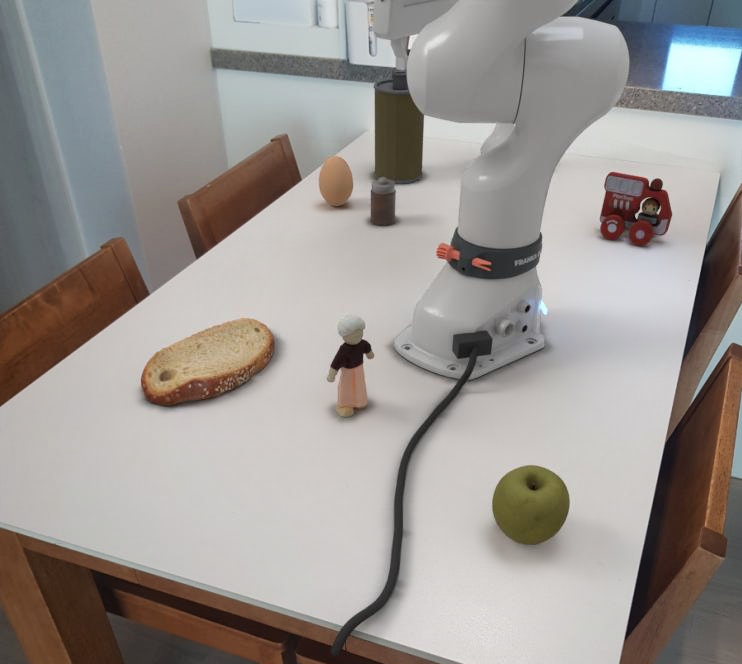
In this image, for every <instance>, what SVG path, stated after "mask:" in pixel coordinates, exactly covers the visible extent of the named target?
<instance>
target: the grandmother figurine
mask: <svg viewBox="0 0 742 664" xmlns="http://www.w3.org/2000/svg"><path fill="white" fill-rule="evenodd" d="M336 326H337V330H338V331H337V333H338V335H339V336H340V337H341V339H342V341H343V343H342V344H341V345H340V346H339V348H338V350H337V352H336V353H335V355H334V357H333V359H332V361H331V363H330V366H329V370H328V374H327V376H326V381H327V382H328V383H334V382H335V381H336V377H337V375H338V373H339V371H340V375H339V379H338V384H337V401H336V403H337V405H336V406H335V411H336V412H337V414H338V415H339V416H340V417H341V418H350V417H352V416H354V414H355V410H354V408H355V409H357V410H361V409H364V408H366V407H367V406H368V392H367V384H366V383H367V382H366V379H365V378H366V376H365V371H364V355H365V357H366V359H367V360H373V359H374V358H375V353H374V351H373V349H372V344H371V342H369V341H368V340H366V339H364V330H365V329H366V322H365V320H364V319H363V318H362V317H360V316H358V315H355V314H354V315H353V314H347V315H345V316H343V318H341V319H339V321H338V324H337V325H336Z"/></svg>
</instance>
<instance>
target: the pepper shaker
mask: <svg viewBox="0 0 742 664" xmlns="http://www.w3.org/2000/svg"><path fill="white" fill-rule="evenodd" d="M396 191H397V190H396V184H395V182H394V181H392V180H389V179H387V178H386V177H381V178H379V179H375V180H373V181H372V182H371V189H370V223H371V224H373V225H375V226H381V227H384V226H385V227H386V226H391V225H393V224H394V223H395V222H396V201H397V200H396V195H397V194H396V193H397V192H396Z"/></svg>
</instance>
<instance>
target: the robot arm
mask: <svg viewBox="0 0 742 664" xmlns="http://www.w3.org/2000/svg"><path fill="white" fill-rule="evenodd" d="M578 1H579V0H373V10H372V31H373V34H374V36H375V37H376V38H378V39H382V40H387V41H390V46H391V49H392V52H393V54H394V56H395V68H397V69H398V70H405V69H407V83H408V88H409V91H410V94H411V97H412V99H413V101H414V103H415V105H416V106H417V108H418V109H419V110H420V111H421V113H422V114H423V115H424V116H427V117H429V118H434V119H439V120H442V121H448V122H451V123H457V124H496V123H512V124H514V129H513V131H512V132H511V134H510V135H509V136H508V137H507V139H506V140H505V141H504V142H502V143H501V144H500V145H498V146H496V147H494V148H493V149H490V150H488V151H486V152H484V153H482V154H481V153H480V154H479V155H478V156H476V157H475V158H474V159H472V161H471V162H470V163H469V164H468V165H467V166H466V168H465V170H464V172H463V174H462V177H461V180H460V191H459V192H460V193H459V206H458V218H457V221H458V222H457V226H456V228H455V229H454V232H453V234H452V237H451V240H450V245H449V244H447V243H445V242H441V243H439V244H438V246H437V248H436V251H435V256H436V257H437V258H438V259H440V260H445V261H446V263H445V264H444V266H443V267H442V268H441V270H440V271H439V273H438V274H437V275H436V277H435V278H434V279H433V281H432V282H431V283H430V285H429V286H428V288H427V289H426V290H425V292H424V293H423V295H422V296H421V297H420V299H419V300H418V302H417V303H416V305H415V306H414V311H413V316H412V322H411V324H410V325H409V326H408V327H406V329H405V330H404V331H402V332H401V333H400V334H399V335H398V336H396V338H395V339H394V343H393V347H394V349H395V351H396V352H397V353H398V354H399V355H400V356H401V357H403V358H404V359H406V360H407V361H408V362H410V363H412V364H414V365H416V366H418V367H420V368H422V369H424V370H427V371H429V372H432V373H435V374H437V375H440V376H444V377H446V378H447V377H448V378H451V379H456V380H457V379H458V381H457V382H456V383H455V385H454V386H453V387H452V389H451V390H450V391H449V393H447V395H446V396H445V397H444V398H443V400H442V401H440V403H439V404H438V405H437V406H436V407H435V408H434V409H433V410H432V412H430V414H429V415H428V416H427V418H425V420H424V421H423V423H422V424H421V425H420V426H419V427H418V428H417V430H416V431H415V432H414V433H413V435H412V437H411V438H410V440H408V441H409V442H408V443H407V445H406V447H405V449H404V452H403V454H402V457H401V460H400V462H399V467H398V471H397V477H396V485H395V490H394V499H393V501H394V502H393V536H392V545H391V553H390V554H391V555H390V565H389V571H388V577H387V580H386V582H385V584H384V587H383V589H382V591H381V593H380V594H379V596H378V597H377V598H376V599H375V600H374V601H373V602H371V603H370V604H369V605H368V606H366V607H365V608H363V609H362V610H360V611H359V612H357V613H356V614H354V615H353V616H352V617H351V618H350V619H348V620H347V621H346V622H345V623H344V625H342V627H341V628H340V630H339V631H338V633H337V634H336V636H335V638H334V641H333V642H332V645H331V649H330V655H332V656H338V655H340V654H341V652H342V651H343V648H344V647H345V644H346V641H347V640H348V638H349V637H350V636H351V634H352V633H353V632H354V630H356V628H358V627H359V626H360V625H361V624H362V623H364V622H366V621H367V620H369V619H370V618H371V617H373V616H375V615H376V614H377V613H379V612H380V611H381V610H382V609H383V608H384V606H385V605H386V604H387V603H388V601H389V600H390V599H391V596H392V594H393V592H394V590H395V587H396V585H397V582H398V578H399V574H400V568H401V557H402V545H403V544H402V543H403V534H404V493H405V486H406V478H407V472H408V467H409V463H410V460H411V457H412V455H413V453H414V450H415V449H416V447H417V444H418V443H419V442H420V440H421V439H422V437H423V436H424V435H425V434H426V432H427V431H428V430H429V429H430V428H431V426H433V424H434V423H435V422H436V420H437V419H438V418H439V417H440V415H441V414H442V413H443V412H444V410H445V409H446V408H447V407H448V406H449V405H450V404H451V402H453V400H454V399H455V398H456V397H457V395H458V394H459V393H460V391H461V390H462V389H463V387H464V386H465V385H466V383H467V382H468V381H471V380H475V379H477V378H479V377H482V376H483V375H486V374H489V373H490V372H493V371H495V370H497V369H500V368H501V367H504V366H506V365H509V364H511V363H513V362H515V361H517V360H520V359H521V358H524V357H527V356H528V355H531V354H533V353H534V352H537V351H539V350H541V349H543V348H544V347H545V341H546V338H545V337H544V335H543V334H542V333H541V331H540V326H541V314H542V313H543V315H547V314H548V308H547V307H546V305H545V303H544V302H543V300H542V298H543V287H542V284H541V281H540V278H539V275H538V269H537V266H538V265H539V263H540V261H541V259H540V258H541V254H542V251H543V234H542V232H541V230H542V229H541V228H542V224H543V218H544V212H545V207H546V202H547V198H548V194H549V190H550V185H551V181H552V179H553V176H554V173H555V171H556V169H557V167H558V165H559V163H560V161H561V160H562V158H563V156H564V155H565V153H566V152H567V151H568V150H569V148H570V147H571V145H572V144H573V143H574V142H575V140H576V139H577V138H578V137H579V136H580V135H581V134H582V133H583V132H585V130H587V129H588V128H589V127H590V126H591V125H593V124H594V123H596V122H597V121H598V120H600V119H602V118H603V117H605V116H606V115H607V114H608V113H609V112H610V111H611V110H612V108H614V107H615V105H616V104H617V103H618V101H619V99H620V98H621V97H622V94H623V92H624V90H625V88H626V85H627V82H628V79H629V78H628V77H629V73H630V53H629V49H628V44H627V42H626V39H625V37H624V35H623V33H622V32H621V30H620V29H619V27H617V25H614V24H610V23H607V22H603V21H599V20H597V19H596V20H595V19H592V18H591V19H590V18H585V17H582V16H563V15H564V14H566V13H568V11H570V10H571V9H572V8H573V7H574V6H575V5H576V4H577V3H578ZM415 35H417V36H416V37H415V39H414V41H413V43H412V45H411V48H410V50H409V54H407V50H406V47H405V46H406V45H407V44H408V37H412V36H415ZM541 312H542V313H541Z"/></svg>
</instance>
